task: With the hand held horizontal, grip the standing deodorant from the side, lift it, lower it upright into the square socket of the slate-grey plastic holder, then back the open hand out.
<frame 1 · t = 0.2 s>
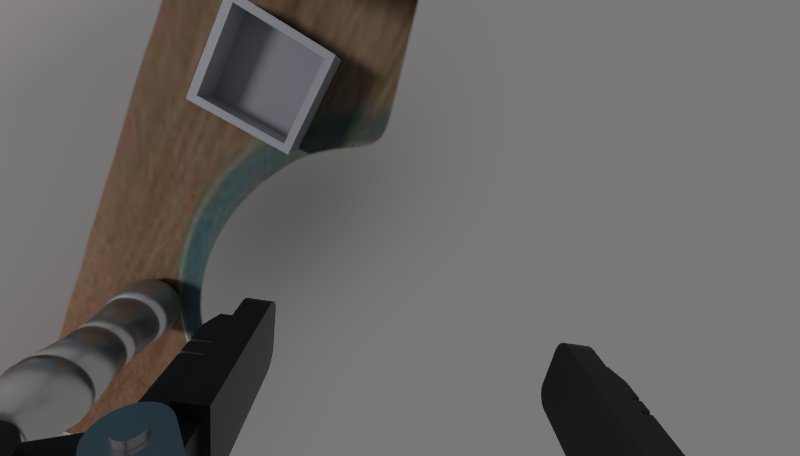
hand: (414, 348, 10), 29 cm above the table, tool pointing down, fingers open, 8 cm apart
holder: (274, 79, 35), on the table
plastic bottle: (159, 297, 42), on the table
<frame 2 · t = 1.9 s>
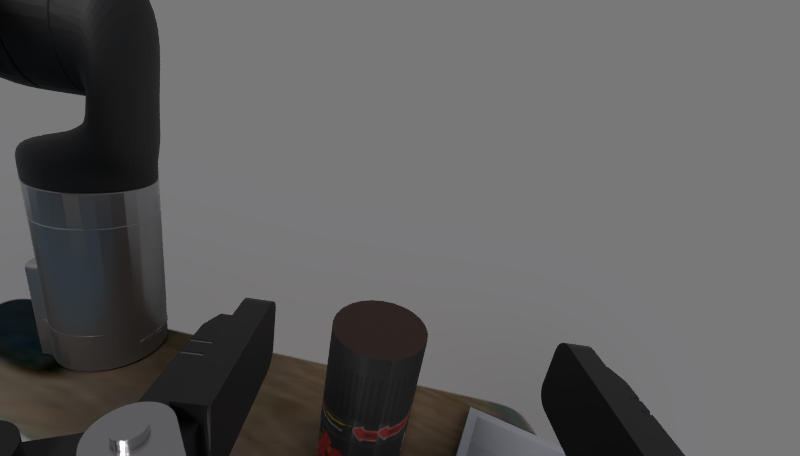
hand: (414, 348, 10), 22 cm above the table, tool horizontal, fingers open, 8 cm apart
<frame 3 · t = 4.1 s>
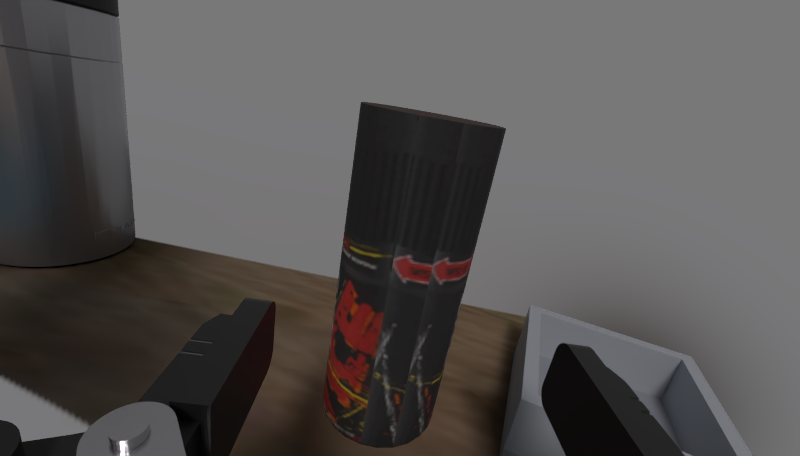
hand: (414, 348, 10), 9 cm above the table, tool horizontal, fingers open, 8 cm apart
holder: (592, 432, 20), on the table
deodorant: (378, 401, 20), on the table
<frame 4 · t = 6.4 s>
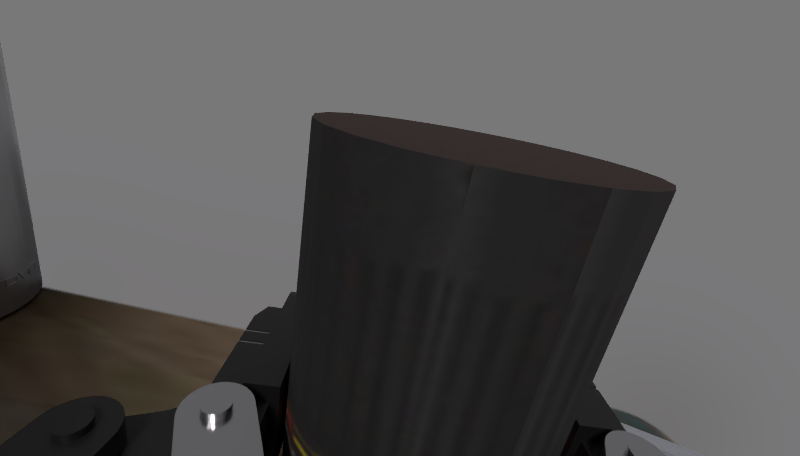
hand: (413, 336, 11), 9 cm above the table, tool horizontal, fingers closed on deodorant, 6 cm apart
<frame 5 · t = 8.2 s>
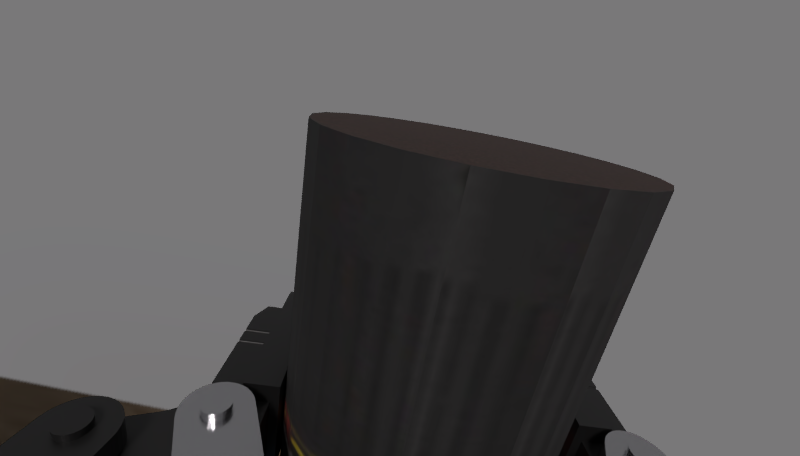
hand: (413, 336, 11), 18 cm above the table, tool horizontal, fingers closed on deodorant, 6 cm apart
when the fingers open (11 cm above the table, at t = 10.2 s): deodorant drops 1 cm, resting on holder.
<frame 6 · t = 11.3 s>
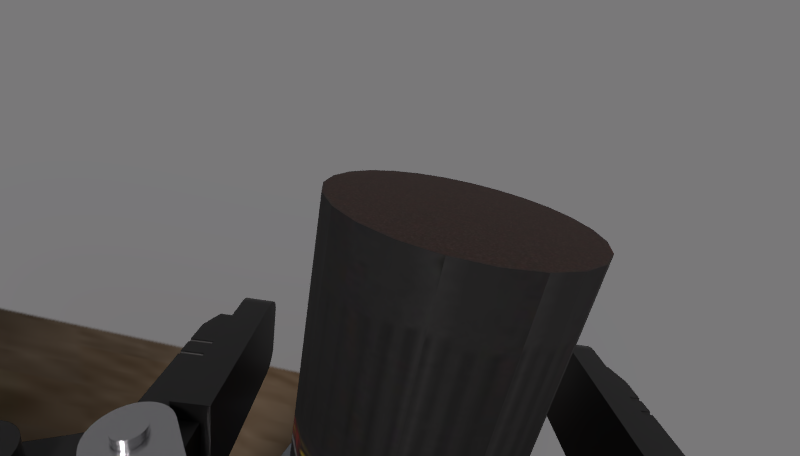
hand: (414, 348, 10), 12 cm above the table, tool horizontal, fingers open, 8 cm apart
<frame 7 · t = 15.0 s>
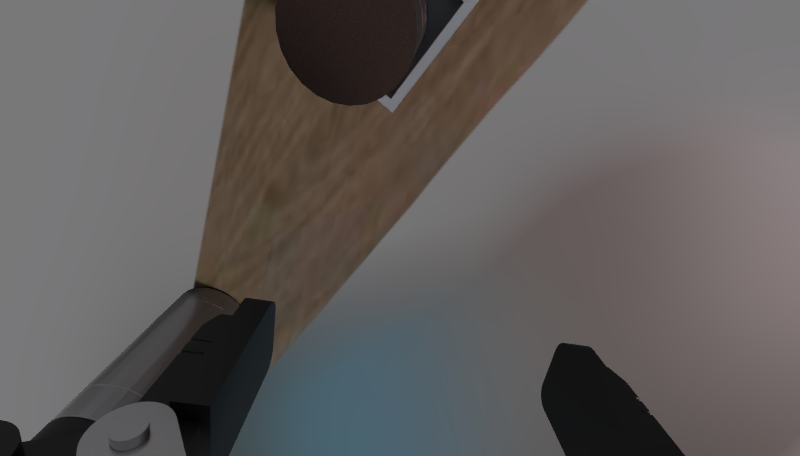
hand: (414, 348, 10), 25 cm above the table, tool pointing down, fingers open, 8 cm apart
holder: (389, 16, 29), on the table
deodorant: (389, 17, 28), point 1 cm above the table, touching holder
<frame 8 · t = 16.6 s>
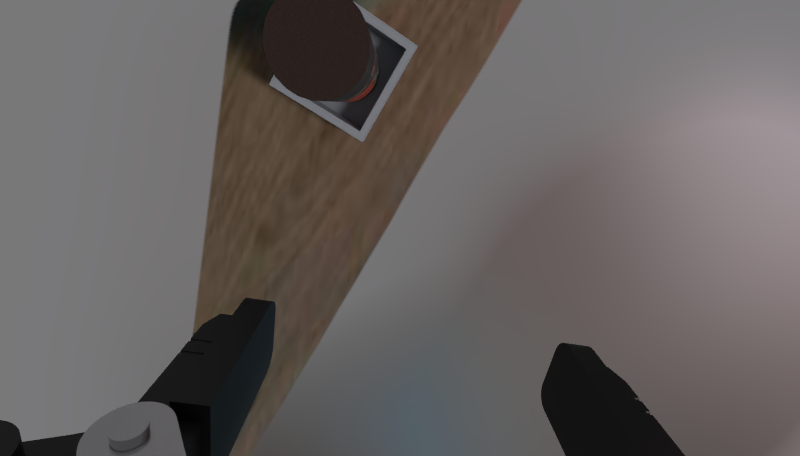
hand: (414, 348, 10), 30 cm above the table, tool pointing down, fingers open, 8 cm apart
holder: (347, 68, 35), on the table
deodorant: (348, 68, 35), point 1 cm above the table, touching holder
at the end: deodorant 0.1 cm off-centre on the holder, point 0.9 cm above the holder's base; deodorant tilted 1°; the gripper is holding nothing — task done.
